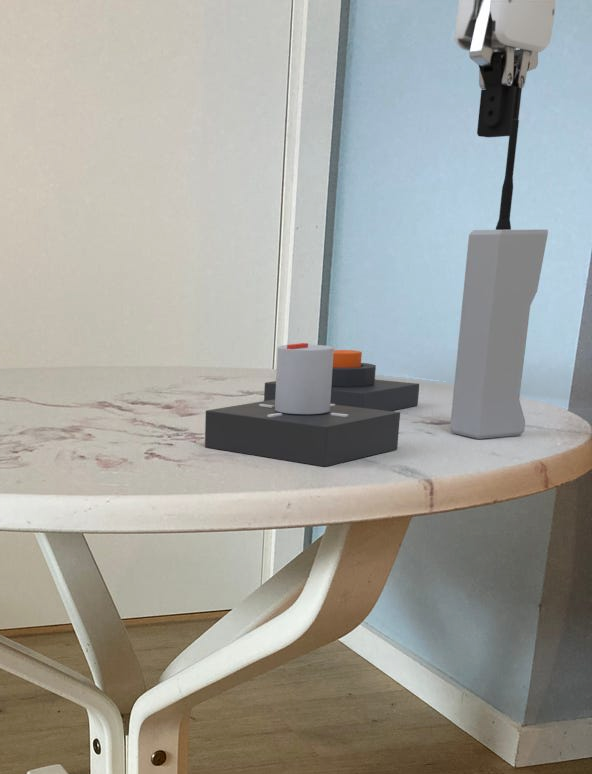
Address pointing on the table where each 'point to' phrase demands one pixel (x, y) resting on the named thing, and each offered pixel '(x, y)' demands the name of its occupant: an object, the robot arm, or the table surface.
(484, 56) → the robot arm
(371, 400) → the block
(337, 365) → the button
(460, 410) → the vintage mobile phone
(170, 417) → the table surface
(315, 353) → the timer knob
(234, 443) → the timer panel
